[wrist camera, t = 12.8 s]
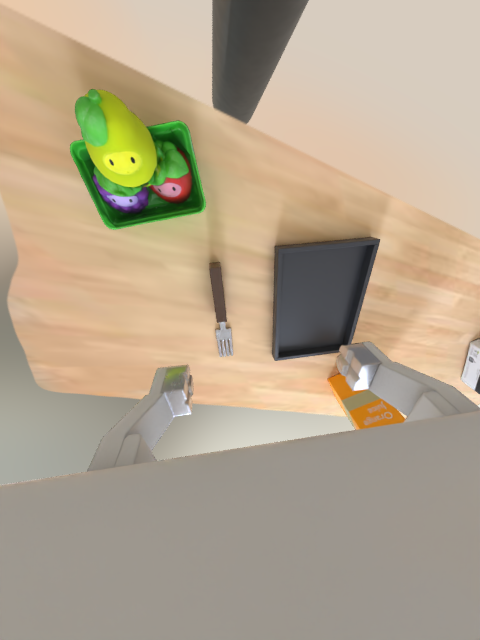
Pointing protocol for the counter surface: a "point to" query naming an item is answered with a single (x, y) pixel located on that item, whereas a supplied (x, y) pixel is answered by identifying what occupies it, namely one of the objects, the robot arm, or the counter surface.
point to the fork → (220, 308)
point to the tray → (319, 295)
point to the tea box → (472, 367)
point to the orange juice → (363, 405)
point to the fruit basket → (134, 164)
